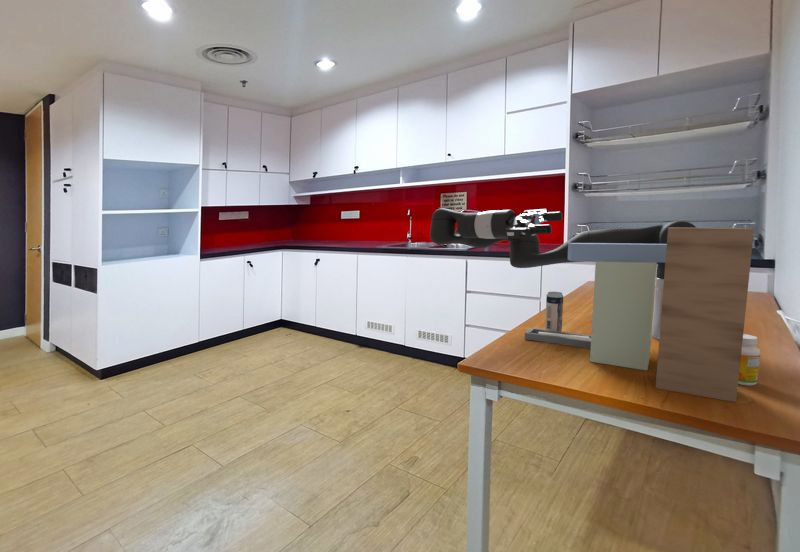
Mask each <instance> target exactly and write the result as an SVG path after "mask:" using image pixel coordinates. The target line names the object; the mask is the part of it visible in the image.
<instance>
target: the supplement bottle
mask: <svg viewBox="0 0 800 552" xmlns="http://www.w3.org/2000/svg"><path fill="white" fill-rule="evenodd" d="M756 345H758V337H757V336H756V335H751V334H747V333H743V341H742V351H741V361H740V370H739V380H738V385H742V386H755V385H757V384H758V379H759V377H758V376H759V371H760V370H759V369H760V362H761V361H760V359H761V350H760V349H759V348H758V346H756Z"/></svg>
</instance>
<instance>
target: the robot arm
mask: <svg viewBox="0 0 800 552" xmlns="http://www.w3.org/2000/svg"><path fill="white" fill-rule="evenodd" d="M547 211H548V210H547V208H539V209H526V210H524V211H523V213H522V214H521V213H520V214H519V215H517V214H516V213H515V211H514V210H512V209H502V210H499V209H497V210H486V211H482V212H481V211H480V212H462V211H456V210H453V209H449V208H445V207H441V208H440V207H439V208H438V209H435V211H434V212H433V213H432V216H431V225H430V231H429V238H430V241H432V242H433V243H434V244H436V245H453V244H454V245H457V244H458V245H464V246H468V247H472V248H477V249H485V248H489V247H491V246H494V245H495V244H498V243H500V242H502V241H506V242H509V263H510V266H512V267H513V268H516V269H530V268H531V269H532V268H537V267H538V268H539V267H544V266H550V265H558V264H566V263H567V264H569V263H578V262H579V263H581V262H584V261H570V260H568V243H630V244H667V236H668V228H669V227H677V228H697V226H695V224H693V223H692V222H689V221H686V220H674V221H670V222H665V223H662V224H657V225H651V226H647V227H646V226H645V227H637V228H601V229H600V228H599V229H592V230H584V231H582V232H579V233H577V234H575V235H574V236H572V237H571V238H569V239H568V240H567V241H566V242H564V243H562V244H561V245H560V246H558V247H556V248H554V249H553V250H549V251H546V252H542V253H540V238H539V236H538V235H550V234H551V233H552V232H553V229H552V225H551V224H550V223H549V224H548V223H547V224H541V223H544V222H561V221H562V220H563V213H562V212H561V211H548V212H547ZM664 274H665V262H657V269H656V282H655V295H654V308H653V321H652V334H651V338H653V339H656V340H659V337H660V325H661V312H662V299H663V287H664Z"/></svg>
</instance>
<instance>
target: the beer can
mask: <svg viewBox="0 0 800 552" xmlns="http://www.w3.org/2000/svg"><path fill="white" fill-rule="evenodd" d="M545 301H546V302H545V303H546V304H545V322H544V329H545V330H553V331H561V332H563V311H564V309H563V308H564V295H563V293H562V292H559V291H548V292H547V294H546V300H545Z"/></svg>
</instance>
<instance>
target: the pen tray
mask: <svg viewBox="0 0 800 552" xmlns="http://www.w3.org/2000/svg"><path fill="white" fill-rule="evenodd" d="M538 332H547V333H557V334H567V335H577V336H587V337H589V338H591V334H582V333H575V332H567V331H553V330H545V328H544V329H543V328H538V327H530V328H529V329H528V330H527V331H525V332H524V340H528V341H535V342H542V343H550V344H558V345H563V346H564V345H565V346H570V347H576V348H577V347H578V348H584V349H590V350H591V341H588V340H581V339H573V338H566V337H558V336H551V335H544V334H538Z"/></svg>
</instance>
